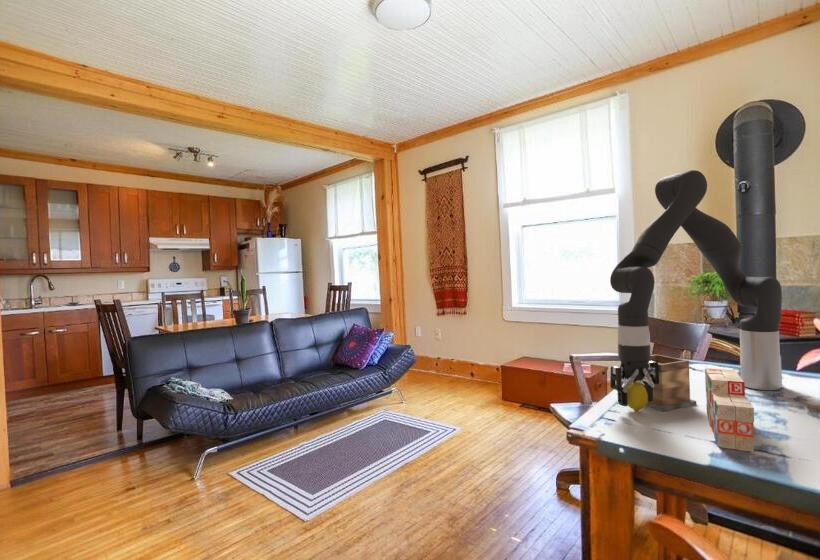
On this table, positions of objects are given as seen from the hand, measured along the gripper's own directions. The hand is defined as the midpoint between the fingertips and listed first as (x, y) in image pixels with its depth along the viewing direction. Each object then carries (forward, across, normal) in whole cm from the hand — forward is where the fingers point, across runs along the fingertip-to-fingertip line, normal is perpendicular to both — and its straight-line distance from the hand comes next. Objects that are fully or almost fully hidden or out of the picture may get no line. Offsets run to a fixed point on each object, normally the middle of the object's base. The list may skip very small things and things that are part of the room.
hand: (635, 403), depth 111 cm
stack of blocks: (+3, -7, +18) cm, 20 cm away
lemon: (+3, 0, 0) cm, 3 cm away
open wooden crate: (+2, -12, -3) cm, 13 cm away
